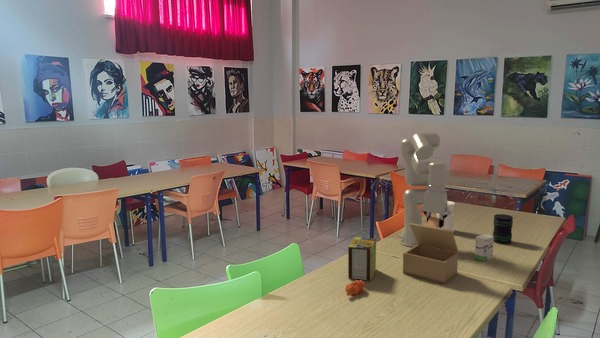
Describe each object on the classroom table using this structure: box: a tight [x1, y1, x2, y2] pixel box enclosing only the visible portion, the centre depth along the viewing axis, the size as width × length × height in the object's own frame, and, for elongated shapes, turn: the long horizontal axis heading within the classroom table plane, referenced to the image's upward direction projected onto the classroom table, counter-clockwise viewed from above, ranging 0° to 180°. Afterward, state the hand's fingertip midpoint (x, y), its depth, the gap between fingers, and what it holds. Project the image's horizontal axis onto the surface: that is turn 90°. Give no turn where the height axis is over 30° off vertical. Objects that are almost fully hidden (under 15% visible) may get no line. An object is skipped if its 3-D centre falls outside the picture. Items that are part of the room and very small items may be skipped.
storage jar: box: [492, 213, 514, 245], centre depth 252 cm, size 10×10×15 cm
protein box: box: [347, 236, 377, 282], centre depth 208 cm, size 10×15×16 cm
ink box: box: [474, 233, 494, 262], centre depth 226 cm, size 9×5×12 cm, turn 123°
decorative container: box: [435, 200, 456, 233], centre depth 274 cm, size 12×12×18 cm
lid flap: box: [410, 216, 459, 253], centre depth 210 cm, size 20×16×7 cm
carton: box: [402, 244, 459, 285], centre depth 208 cm, size 20×16×10 cm
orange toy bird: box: [345, 279, 366, 297], centre depth 189 cm, size 5×8×12 cm
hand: (435, 225), depth 208 cm, fingers closed on lid flap, 5 cm apart
